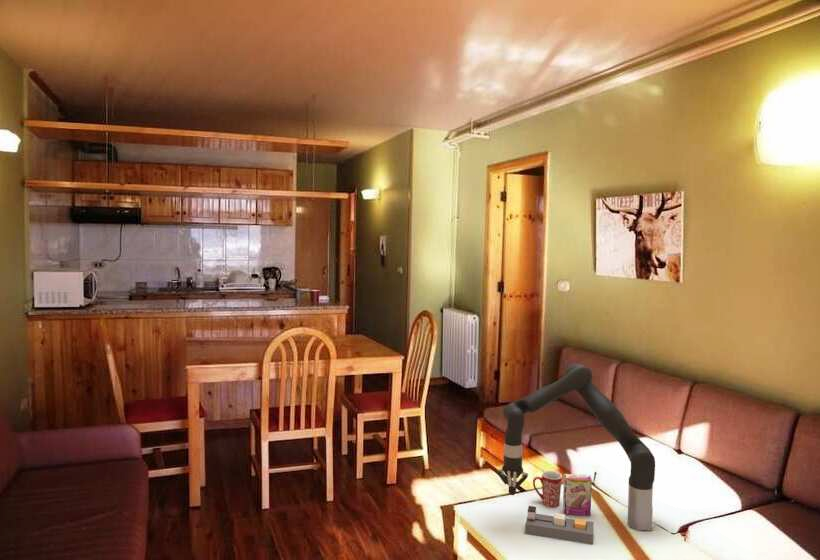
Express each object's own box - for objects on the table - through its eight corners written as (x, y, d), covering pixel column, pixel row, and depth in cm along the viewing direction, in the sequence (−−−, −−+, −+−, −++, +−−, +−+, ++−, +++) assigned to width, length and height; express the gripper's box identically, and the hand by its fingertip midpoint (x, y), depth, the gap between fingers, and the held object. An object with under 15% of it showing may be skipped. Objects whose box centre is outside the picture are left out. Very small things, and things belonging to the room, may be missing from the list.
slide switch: (536, 520, 236) (536, 506, 236) (534, 525, 233) (535, 511, 232) (528, 519, 237) (528, 505, 237) (527, 524, 234) (527, 510, 233)
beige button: (565, 521, 233) (565, 514, 232) (564, 526, 229) (564, 519, 228) (554, 520, 234) (554, 512, 234) (553, 525, 230) (553, 517, 230)
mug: (561, 500, 260) (561, 471, 258) (562, 509, 251) (562, 479, 250) (532, 497, 262) (533, 468, 261) (532, 506, 254) (532, 477, 252)
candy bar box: (564, 515, 246) (565, 478, 244) (562, 509, 251) (563, 473, 249) (591, 516, 245) (592, 479, 243) (588, 510, 250) (589, 474, 248)
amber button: (585, 527, 230) (585, 520, 230) (585, 532, 226) (585, 525, 226) (574, 525, 232) (575, 518, 231) (574, 530, 228) (574, 523, 227)
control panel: (593, 531, 232) (593, 522, 232) (592, 544, 223) (593, 534, 222) (528, 521, 241) (528, 512, 240) (525, 533, 231) (525, 524, 231)
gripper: (530, 452, 237) (529, 492, 238) (498, 448, 241) (497, 488, 242) (528, 459, 229) (527, 500, 231) (495, 455, 234) (494, 495, 235)
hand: (512, 494), depth 237 cm, fingers closed
